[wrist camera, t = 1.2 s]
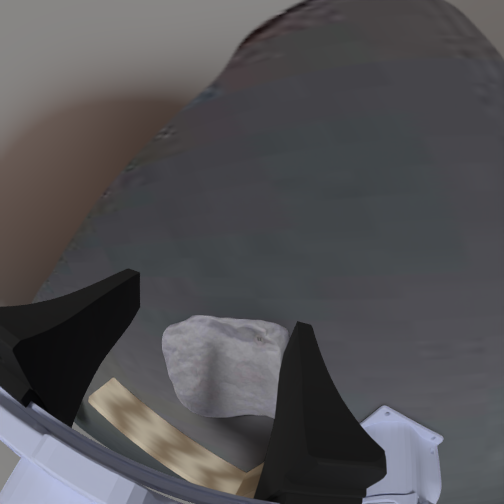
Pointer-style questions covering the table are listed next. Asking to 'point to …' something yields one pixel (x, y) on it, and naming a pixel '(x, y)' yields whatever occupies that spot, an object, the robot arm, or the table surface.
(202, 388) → the stone block
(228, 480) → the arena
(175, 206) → the table surface
